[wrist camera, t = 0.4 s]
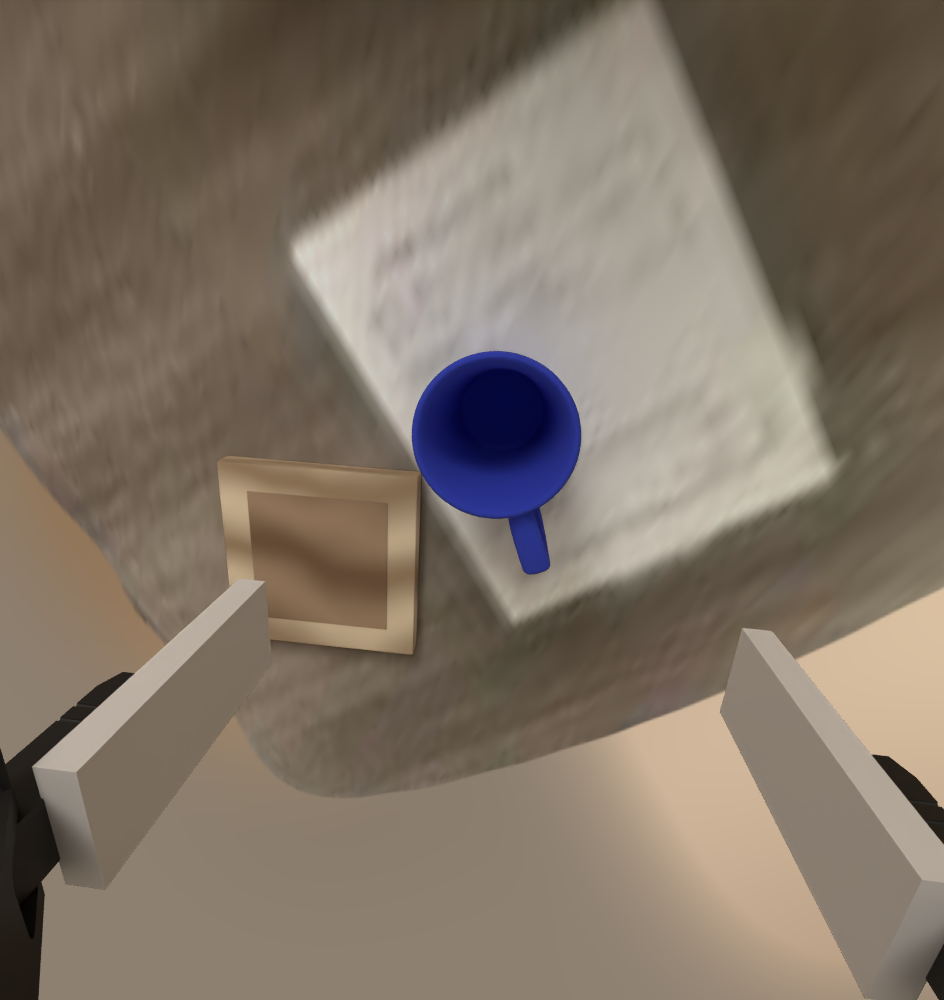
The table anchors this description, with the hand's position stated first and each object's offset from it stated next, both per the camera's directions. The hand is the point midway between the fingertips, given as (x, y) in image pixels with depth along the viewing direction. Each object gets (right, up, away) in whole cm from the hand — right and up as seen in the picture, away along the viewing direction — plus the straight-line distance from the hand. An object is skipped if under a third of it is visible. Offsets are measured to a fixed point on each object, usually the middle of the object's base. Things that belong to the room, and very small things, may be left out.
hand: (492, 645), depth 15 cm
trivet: (-12, 0, +25) cm, 27 cm away
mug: (+2, +8, +21) cm, 22 cm away
